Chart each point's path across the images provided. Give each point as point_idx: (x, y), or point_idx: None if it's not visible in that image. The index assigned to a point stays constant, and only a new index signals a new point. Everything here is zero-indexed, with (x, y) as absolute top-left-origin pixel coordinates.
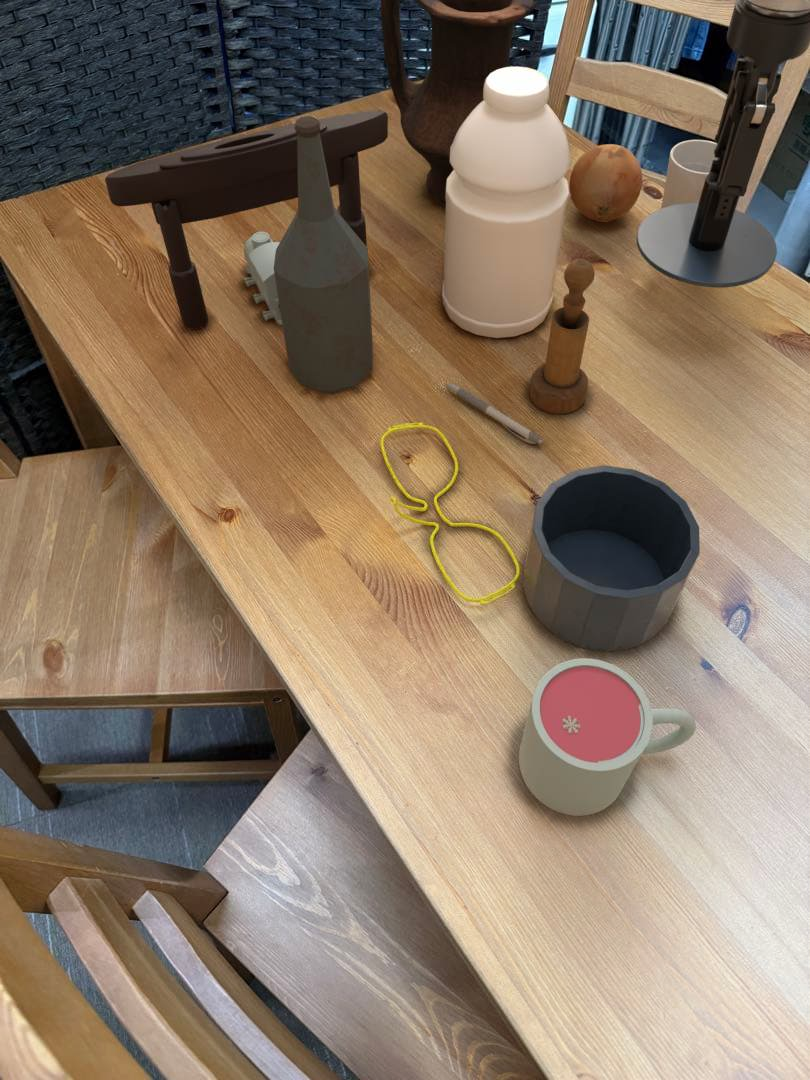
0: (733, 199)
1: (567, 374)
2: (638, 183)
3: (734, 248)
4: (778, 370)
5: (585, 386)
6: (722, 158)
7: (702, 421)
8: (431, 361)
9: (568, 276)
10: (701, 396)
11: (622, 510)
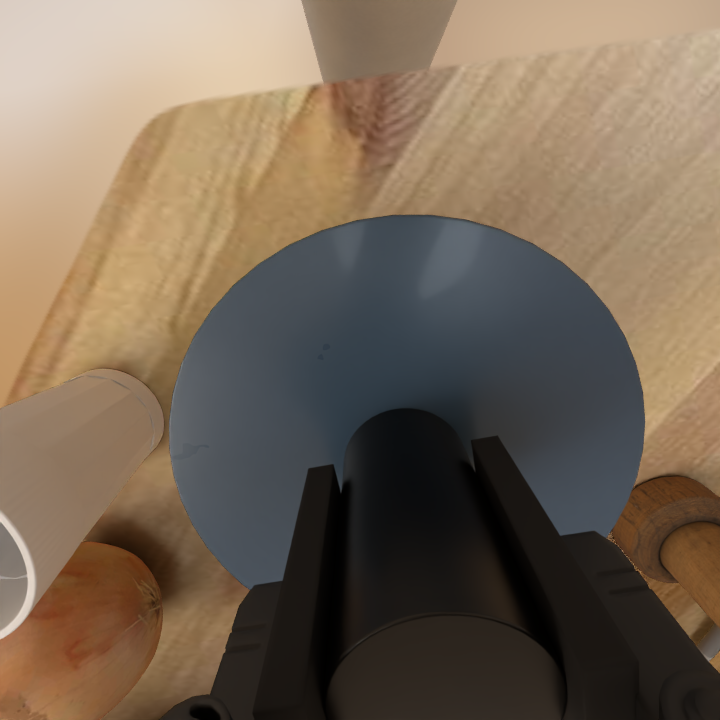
0: (699, 651)
1: None
2: (55, 595)
3: (416, 371)
4: (484, 121)
5: (702, 501)
6: None
7: (688, 261)
8: None
9: None
10: (612, 277)
11: None
